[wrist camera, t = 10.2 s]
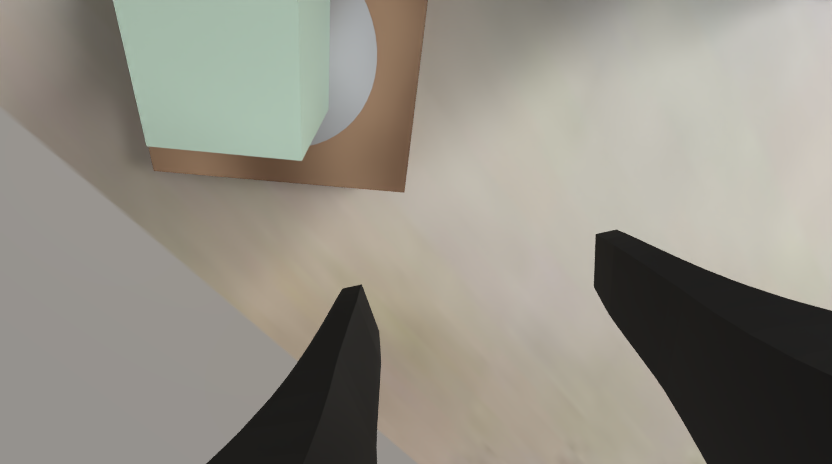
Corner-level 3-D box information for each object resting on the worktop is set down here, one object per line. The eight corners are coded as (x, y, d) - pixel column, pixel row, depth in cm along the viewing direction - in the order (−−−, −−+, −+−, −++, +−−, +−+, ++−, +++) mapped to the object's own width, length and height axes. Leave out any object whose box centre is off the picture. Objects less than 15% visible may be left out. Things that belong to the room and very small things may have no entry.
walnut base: (433, -95, 15) (442, -113, 13) (402, 172, 20) (404, 194, 18) (123, -151, 13) (69, -183, 11) (179, 151, 19) (151, 172, 17)
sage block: (330, -4, 14) (297, -8, 9) (328, 108, 16) (301, 160, 11) (212, -22, 13) (104, -37, 8) (226, 97, 15) (146, 146, 10)
